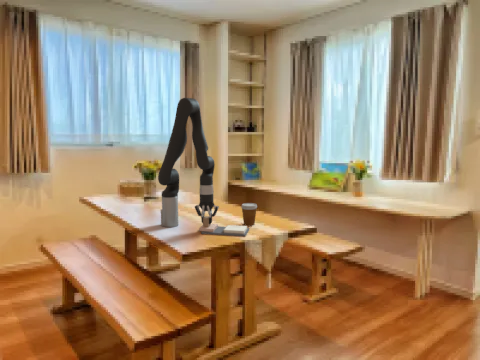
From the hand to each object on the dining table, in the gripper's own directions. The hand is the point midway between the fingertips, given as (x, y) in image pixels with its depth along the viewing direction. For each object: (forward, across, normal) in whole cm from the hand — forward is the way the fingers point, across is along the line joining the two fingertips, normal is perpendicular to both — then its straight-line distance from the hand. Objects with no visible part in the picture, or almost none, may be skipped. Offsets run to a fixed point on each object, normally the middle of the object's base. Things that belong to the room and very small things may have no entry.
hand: (206, 223), depth 195 cm
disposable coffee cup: (+4, +21, +18) cm, 28 cm away
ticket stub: (+3, +1, 0) cm, 3 cm away
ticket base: (+4, +11, 0) cm, 11 cm away
